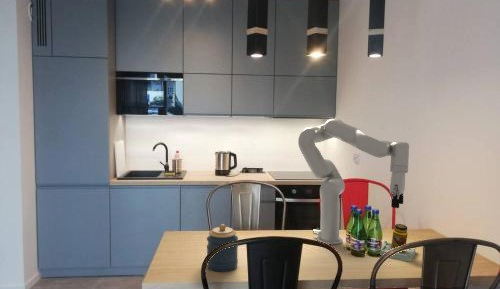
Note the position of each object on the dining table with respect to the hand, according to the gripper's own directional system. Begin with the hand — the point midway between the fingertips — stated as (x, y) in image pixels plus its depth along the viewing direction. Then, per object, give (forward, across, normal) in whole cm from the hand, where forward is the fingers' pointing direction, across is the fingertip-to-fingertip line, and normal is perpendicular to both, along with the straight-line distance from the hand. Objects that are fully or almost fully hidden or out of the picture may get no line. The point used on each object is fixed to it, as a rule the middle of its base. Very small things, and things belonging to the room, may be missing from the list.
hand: (397, 205), depth 161 cm
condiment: (+21, 0, +1) cm, 21 cm away
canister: (+23, +58, -57) cm, 84 cm away
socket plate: (+22, 0, +1) cm, 22 cm away
